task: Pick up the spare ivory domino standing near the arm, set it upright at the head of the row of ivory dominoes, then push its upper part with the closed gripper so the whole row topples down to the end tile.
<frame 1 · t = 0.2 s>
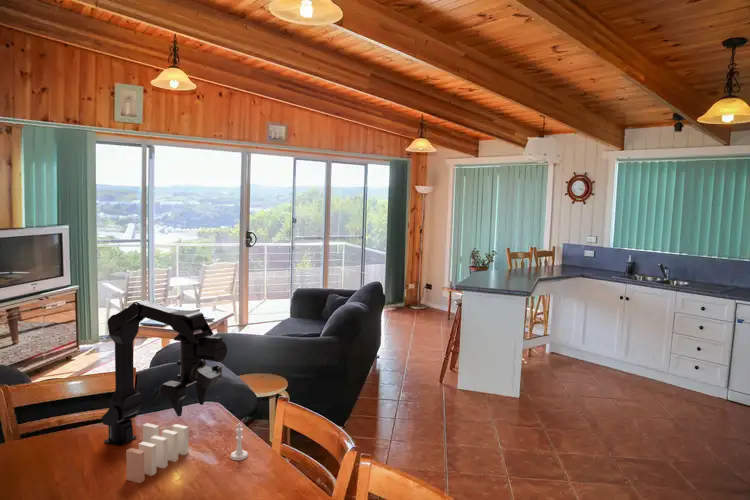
hand: (190, 410, 149), 14 cm above the table, fingers open, 9 cm apart
domino 6: (135, 480, 138), on the table
domino 5: (147, 472, 142), on the table
domino 2: (180, 452, 153), on the table
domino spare: (151, 451, 153), on the table
domino 3: (170, 458, 150), on the table
domino 4: (159, 465, 146), on the table
chess piece: (239, 457, 152), on the table
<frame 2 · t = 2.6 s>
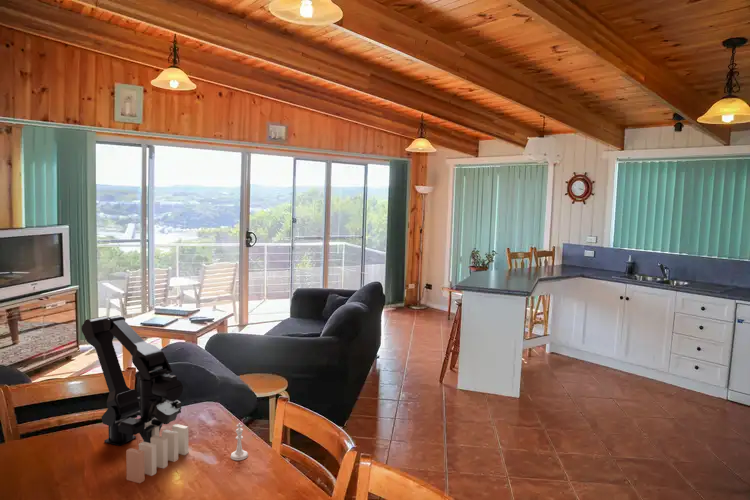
hand: (151, 445, 153), 2 cm above the table, fingers closed on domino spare, 2 cm apart
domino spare: (151, 451, 153), on the table, touching gripper
everything else where it was.
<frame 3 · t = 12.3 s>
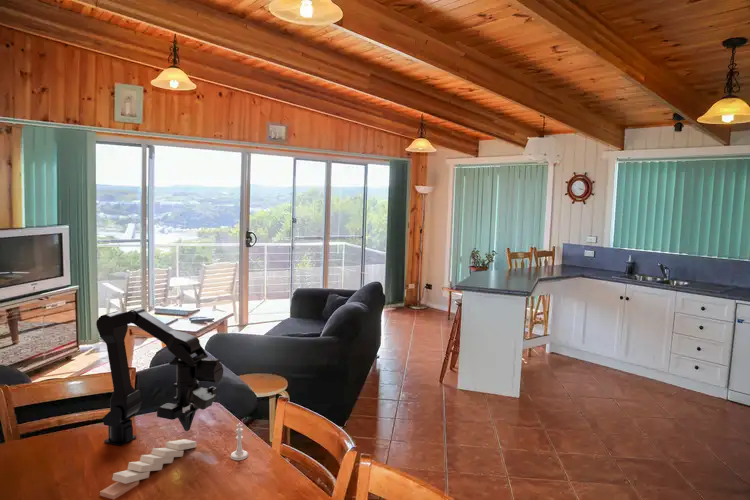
hand: (187, 430, 156), 5 cm above the table, fingers closed
domino 6: (132, 481, 137), on the table, tilted 90°
domino 5: (142, 472, 140), point 1 cm above the table, tilted 74°
domino 2: (177, 452, 152), point 1 cm above the table, tilted 67°, touching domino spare
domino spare: (190, 443, 158), point 1 cm above the table, tilted 73°, touching domino 2
domino 3: (166, 458, 148), point 1 cm above the table, tilted 68°, touching domino 4
domino 4: (155, 465, 144), point 1 cm above the table, tilted 68°, touching domino 3
everything else where it was.
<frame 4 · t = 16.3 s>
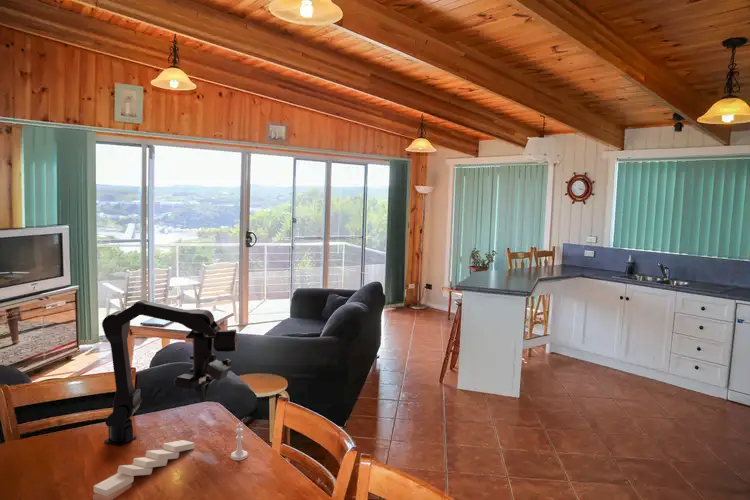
hand: (202, 401, 162), 12 cm above the table, fingers closed
domino 6: (124, 483, 135), on the table, tilted 90°, touching domino 5
domino 5: (127, 476, 136), point 2 cm above the table, tilted 90°, touching domino 4, domino 6
domino 2: (172, 453, 151), point 1 cm above the table, tilted 70°, touching domino 3, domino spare
domino 3: (160, 460, 147), point 1 cm above the table, tilted 70°, touching domino 2, domino 4
domino 4: (145, 469, 142), point 1 cm above the table, tilted 65°, touching domino 3, domino 5
at the end: domino 6 tilted 90°; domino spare tilted 75° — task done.
